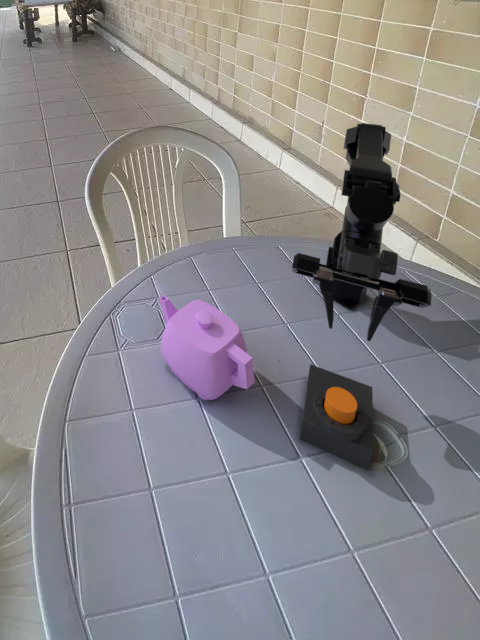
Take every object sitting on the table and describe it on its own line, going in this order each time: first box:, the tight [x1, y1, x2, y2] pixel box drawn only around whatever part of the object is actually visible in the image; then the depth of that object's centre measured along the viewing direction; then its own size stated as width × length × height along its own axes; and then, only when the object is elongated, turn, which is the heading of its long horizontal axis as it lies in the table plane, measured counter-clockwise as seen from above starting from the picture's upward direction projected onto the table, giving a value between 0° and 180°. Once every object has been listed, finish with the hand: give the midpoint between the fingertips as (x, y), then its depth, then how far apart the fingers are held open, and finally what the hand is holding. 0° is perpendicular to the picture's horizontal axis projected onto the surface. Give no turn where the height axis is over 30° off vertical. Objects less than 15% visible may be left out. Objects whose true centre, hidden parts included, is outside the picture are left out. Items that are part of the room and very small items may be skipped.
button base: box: [299, 364, 374, 471], centre depth 66 cm, size 11×9×6 cm
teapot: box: [158, 294, 256, 401], centre depth 75 cm, size 20×12×13 cm, turn 37°
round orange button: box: [324, 387, 357, 425], centre depth 63 cm, size 4×4×3 cm
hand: (349, 334), depth 66 cm, fingers open, 5 cm apart
